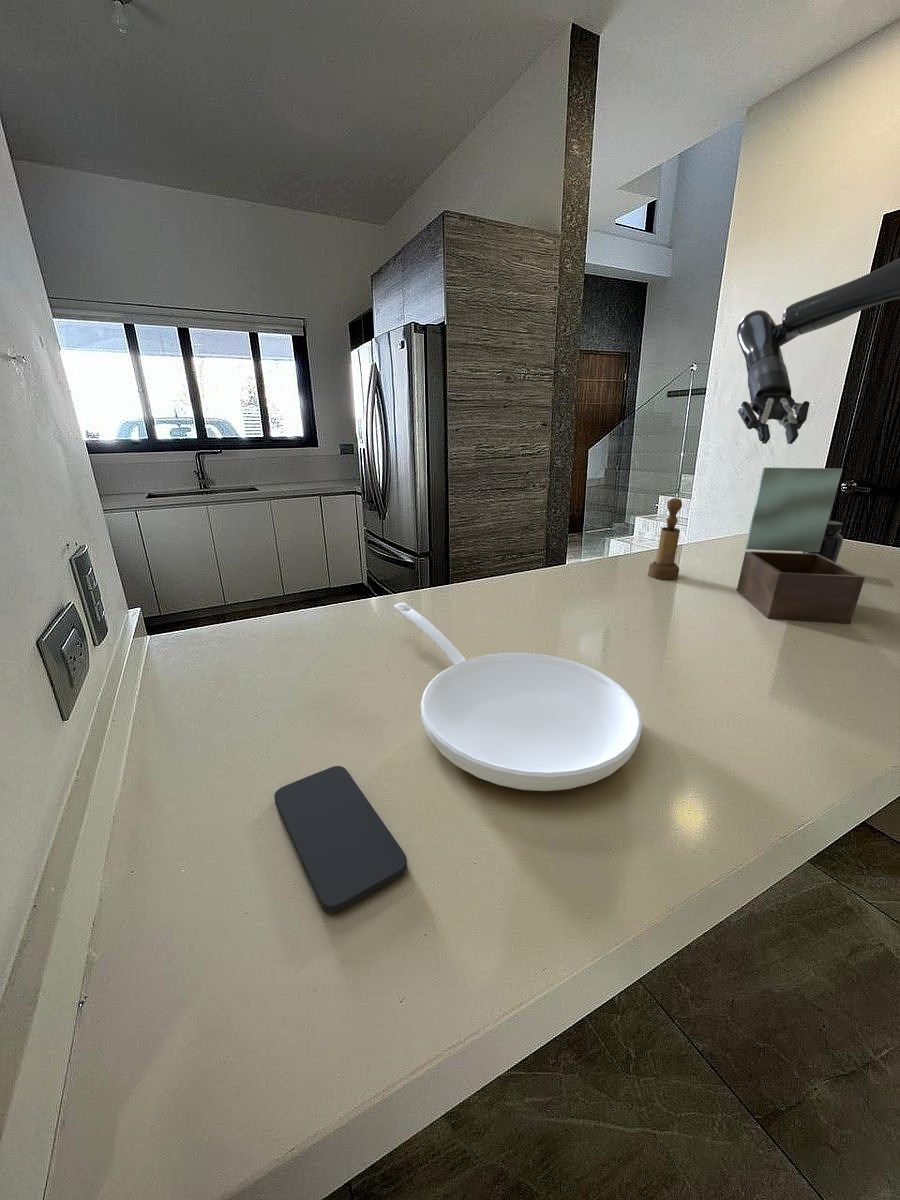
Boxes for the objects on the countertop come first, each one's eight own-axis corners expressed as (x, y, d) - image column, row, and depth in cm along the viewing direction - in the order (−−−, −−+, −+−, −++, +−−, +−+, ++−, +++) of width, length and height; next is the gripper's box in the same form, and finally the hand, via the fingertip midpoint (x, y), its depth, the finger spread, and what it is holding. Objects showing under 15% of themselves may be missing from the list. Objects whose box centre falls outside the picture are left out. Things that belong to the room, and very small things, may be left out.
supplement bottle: (798, 572, 115) (811, 522, 110) (798, 565, 120) (811, 517, 116) (833, 577, 111) (849, 526, 107) (832, 570, 116) (847, 521, 112)
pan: (517, 852, 41) (521, 794, 39) (329, 656, 75) (325, 619, 73) (684, 746, 54) (694, 698, 52) (460, 620, 88) (460, 588, 86)
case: (850, 623, 86) (865, 577, 83) (767, 618, 88) (779, 573, 85) (806, 594, 100) (817, 553, 97) (736, 590, 103) (745, 550, 100)
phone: (342, 762, 51) (413, 863, 39) (343, 768, 51) (413, 871, 39) (270, 791, 47) (325, 912, 35) (271, 797, 47) (326, 920, 35)
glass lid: (842, 468, 91) (840, 468, 92) (764, 467, 93) (763, 467, 94) (819, 552, 97) (817, 551, 98) (746, 549, 99) (745, 548, 100)
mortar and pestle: (671, 581, 108) (685, 501, 102) (643, 576, 112) (655, 498, 106) (681, 575, 113) (695, 498, 106) (654, 569, 117) (666, 495, 110)
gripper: (741, 369, 107) (750, 428, 100) (812, 368, 104) (826, 428, 98) (727, 396, 114) (735, 453, 107) (794, 395, 111) (806, 453, 104)
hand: (779, 440), depth 102 cm, fingers open, 4 cm apart
